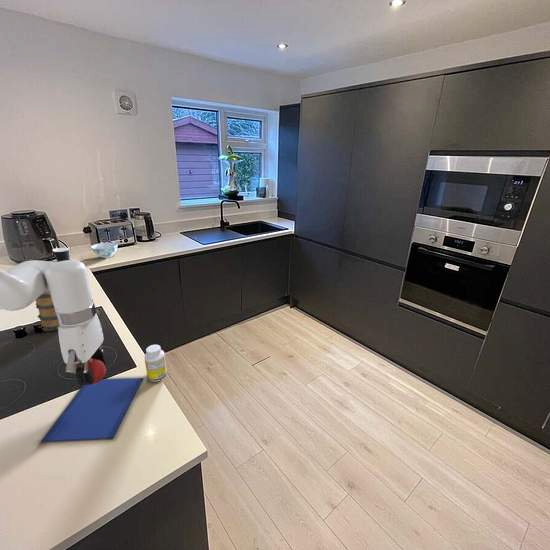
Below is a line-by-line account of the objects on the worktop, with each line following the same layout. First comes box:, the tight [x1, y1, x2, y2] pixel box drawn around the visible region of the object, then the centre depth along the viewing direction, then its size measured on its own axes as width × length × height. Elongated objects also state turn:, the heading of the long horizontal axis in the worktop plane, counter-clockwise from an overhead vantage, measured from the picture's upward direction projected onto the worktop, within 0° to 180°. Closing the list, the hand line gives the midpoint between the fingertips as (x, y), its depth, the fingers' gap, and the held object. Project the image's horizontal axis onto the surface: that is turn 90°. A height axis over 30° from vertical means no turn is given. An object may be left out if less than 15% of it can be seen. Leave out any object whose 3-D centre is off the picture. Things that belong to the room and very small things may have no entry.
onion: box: [80, 358, 107, 384], centre depth 74 cm, size 6×6×8 cm
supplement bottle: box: [143, 344, 168, 382], centre depth 86 cm, size 6×6×10 cm
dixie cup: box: [52, 247, 71, 262], centre depth 170 cm, size 8×8×11 cm
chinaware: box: [91, 242, 118, 259], centre depth 190 cm, size 15×15×8 cm
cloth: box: [41, 377, 144, 443], centre depth 77 cm, size 16×20×1 cm
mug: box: [35, 291, 60, 332], centre depth 111 cm, size 13×17×20 cm
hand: (93, 374), depth 74 cm, fingers closed on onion, 5 cm apart
